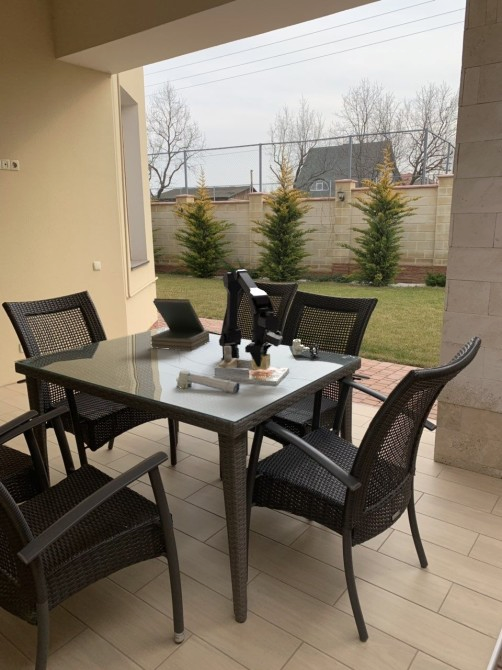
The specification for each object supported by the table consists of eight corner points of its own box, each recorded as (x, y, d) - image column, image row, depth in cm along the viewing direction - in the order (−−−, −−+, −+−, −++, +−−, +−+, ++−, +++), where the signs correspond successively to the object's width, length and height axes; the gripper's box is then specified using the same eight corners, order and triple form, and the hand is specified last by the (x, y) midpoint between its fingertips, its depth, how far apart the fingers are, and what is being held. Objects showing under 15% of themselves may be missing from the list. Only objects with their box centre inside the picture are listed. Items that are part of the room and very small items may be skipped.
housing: (251, 368, 191) (251, 355, 190) (256, 365, 195) (255, 352, 194) (266, 369, 189) (266, 356, 188) (270, 366, 193) (270, 353, 192)
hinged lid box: (209, 342, 254) (207, 294, 248) (191, 351, 236) (188, 300, 231) (171, 339, 262) (168, 293, 257) (151, 348, 244) (147, 299, 239)
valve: (288, 355, 223) (311, 359, 216) (288, 341, 222) (311, 344, 214) (296, 352, 228) (319, 355, 221) (296, 338, 227) (319, 341, 219)
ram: (218, 372, 193) (217, 349, 191) (228, 365, 202) (227, 343, 200) (228, 373, 192) (227, 350, 190) (237, 366, 201) (236, 344, 199)
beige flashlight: (234, 385, 171) (174, 369, 181) (233, 402, 173) (173, 386, 183) (240, 380, 176) (181, 365, 185) (239, 397, 178) (180, 382, 187)
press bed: (212, 379, 190) (212, 368, 189) (229, 367, 207) (229, 356, 206) (276, 385, 182) (276, 373, 181) (289, 371, 198) (289, 360, 197)
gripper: (272, 332, 177) (273, 373, 181) (286, 322, 194) (287, 360, 198) (244, 330, 181) (245, 371, 184) (260, 321, 198) (261, 358, 201)
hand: (260, 364), depth 192 cm, fingers closed on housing, 5 cm apart
